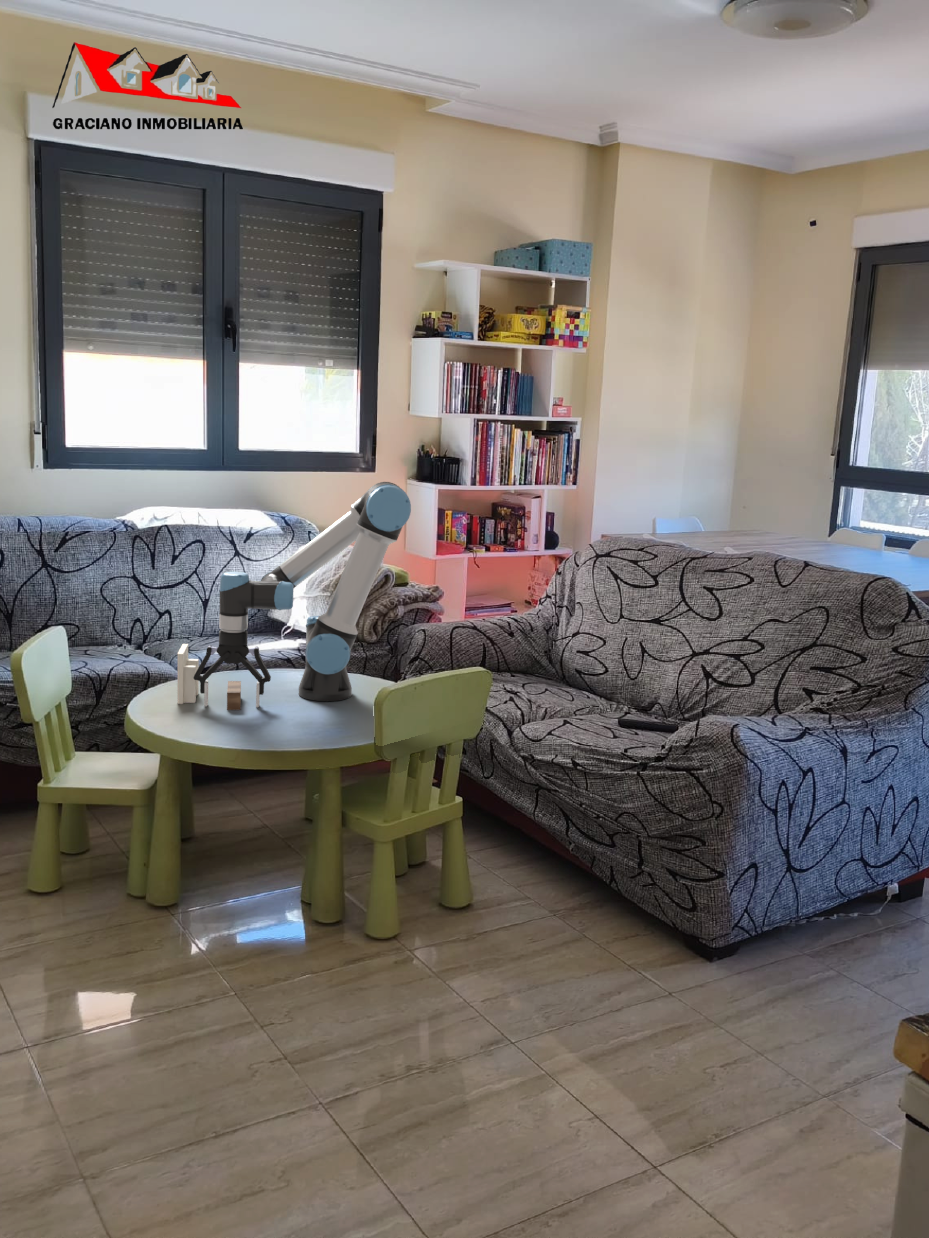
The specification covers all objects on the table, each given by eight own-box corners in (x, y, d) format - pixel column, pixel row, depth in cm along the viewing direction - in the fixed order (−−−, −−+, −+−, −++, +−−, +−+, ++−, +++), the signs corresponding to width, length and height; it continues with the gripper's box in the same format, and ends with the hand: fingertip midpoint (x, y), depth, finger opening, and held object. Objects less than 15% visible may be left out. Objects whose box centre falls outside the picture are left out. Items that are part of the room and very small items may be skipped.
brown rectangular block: (227, 698, 305) (228, 681, 304) (240, 698, 306) (240, 681, 305) (227, 710, 293) (227, 692, 292) (240, 710, 294) (240, 692, 293)
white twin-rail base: (198, 692, 309) (199, 644, 306) (194, 704, 297) (194, 654, 294) (182, 692, 308) (182, 643, 305) (177, 703, 296) (177, 653, 294)
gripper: (281, 628, 298) (279, 702, 302) (187, 625, 295) (186, 700, 299) (280, 634, 291) (278, 710, 295) (183, 631, 287) (183, 708, 291)
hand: (231, 705), depth 297 cm, fingers open, 13 cm apart
